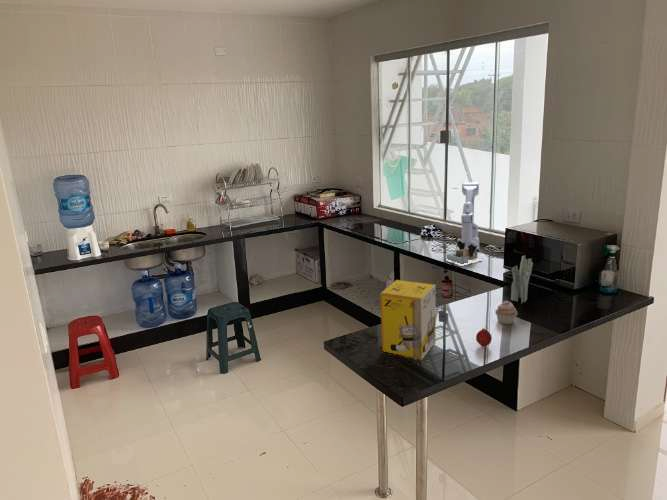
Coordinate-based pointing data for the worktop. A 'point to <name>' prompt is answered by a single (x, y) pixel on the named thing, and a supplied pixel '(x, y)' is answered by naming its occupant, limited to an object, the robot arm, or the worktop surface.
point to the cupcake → (506, 313)
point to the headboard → (459, 258)
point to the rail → (466, 253)
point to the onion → (483, 337)
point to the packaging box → (408, 318)
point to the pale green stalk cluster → (521, 280)
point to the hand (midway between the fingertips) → (466, 255)
